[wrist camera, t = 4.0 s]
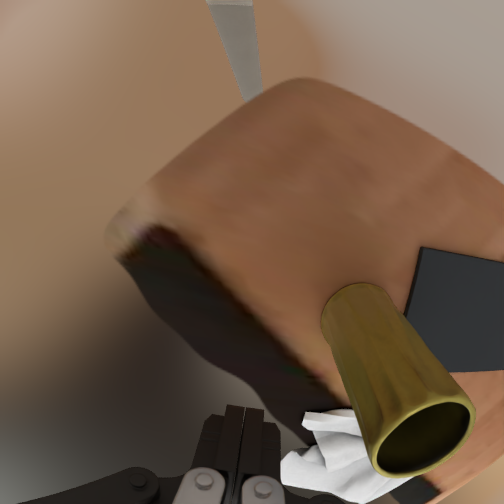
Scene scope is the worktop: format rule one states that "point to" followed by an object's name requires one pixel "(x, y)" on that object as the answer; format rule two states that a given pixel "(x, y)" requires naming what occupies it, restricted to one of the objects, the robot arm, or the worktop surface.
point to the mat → (459, 309)
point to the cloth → (336, 460)
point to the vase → (394, 384)
